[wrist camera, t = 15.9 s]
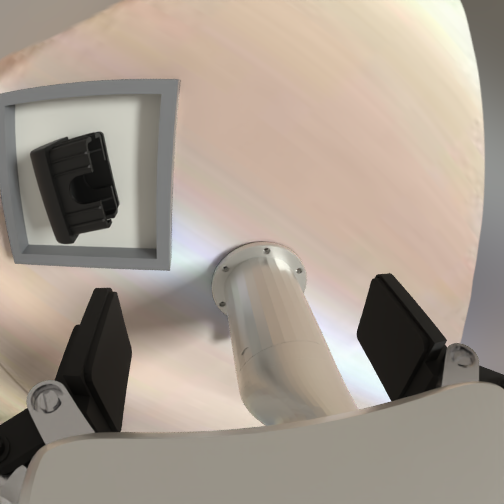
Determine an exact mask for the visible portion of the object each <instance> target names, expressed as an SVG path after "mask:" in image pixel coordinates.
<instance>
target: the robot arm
mask: <svg viewBox="0 0 504 504" xmlns="http://www.w3.org/2000/svg"><path fill="white" fill-rule="evenodd" d="M265 248H267V249H265ZM225 266H226V267H225ZM306 283H307V275H306V270H305V267H304V265H303V263H302V261H301V260H300V258H299V257H298V256H297V254H296V253H294V252H293V251H292V250H291V249H289V248H287V247H285V246H283V245H281V244H277V243H273V242H255V243H251V244H247V245H244V246H242V247H239V248H237V249H235V250H234V251H232V252H231V253H229V254H228V255H227V256H226V257H225V258H224V259H223V260H222V261H221V262H220V263H219V265H218V266H217V268H216V270H215V272H214V274H213V279H212V294H213V299H214V301H215V303H216V305H217V306H218V308H219V309H220V310H221V311H222V312H223V313H224V314H225V315H226V316H228V322H229V329H230V336H231V342H232V349H233V355H234V361H235V368H236V374H237V380H238V386H239V392H240V395H241V399H242V401H243V403H244V405H245V406H246V408H247V409H248V411H249V412H250V413H251V414H252V415H253V416H254V417H255V418H256V419H257V420H259V421H260V422H261V423H263V424H264V425H265V426H261V427H252V428H242V429H231V430H217V431H198V432H120V431H121V428H122V420H123V411H124V404H125V396H126V389H127V382H128V376H129V369H130V363H131V357H132V350H131V345H130V341H129V338H128V334H127V330H126V327H125V323H124V319H123V315H122V311H121V307H120V303H119V299H118V295H117V292H112V289H111V288H95V289H94V291H93V294H92V296H91V299H90V301H89V303H88V306H87V308H86V311H85V313H84V316H83V318H82V321H81V324H80V325H76V326H75V327H74V329H73V331H72V334H71V336H70V339H69V342H68V344H67V347H66V350H65V352H64V355H63V358H62V361H61V364H60V366H59V369H58V372H57V375H56V378H55V381H53V380H47V381H43V382H40V383H38V384H37V385H35V386H34V387H33V388H32V389H31V390H30V392H29V394H28V396H27V407H28V408H27V409H25V410H24V411H22V412H21V413H19V414H17V415H16V416H14V417H12V418H11V419H9V420H8V421H6V422H4V423H3V424H1V425H0V504H504V375H503V374H500V373H497V372H495V371H492V370H490V369H487V368H484V367H482V366H479V359H478V356H477V354H476V353H475V352H474V351H473V349H471V348H470V347H468V346H466V345H464V344H460V343H454V344H451V345H449V346H448V347H446V345H445V343H446V341H447V340H446V338H445V337H444V336H443V334H442V333H441V332H440V331H439V329H438V328H437V327H436V326H435V324H434V323H433V322H432V321H431V319H430V318H429V317H428V316H427V315H426V313H425V312H424V311H423V310H422V309H421V307H420V306H419V305H418V304H417V303H416V301H415V300H414V299H413V298H412V297H411V295H410V294H409V293H408V292H407V291H406V290H405V288H404V287H403V286H402V285H401V284H400V283H399V282H398V280H397V279H396V278H395V277H394V276H393V275H392V274H390V273H389V274H378V275H376V277H375V278H374V279H372V281H371V284H370V288H369V292H368V295H367V299H366V302H365V306H364V309H363V313H362V316H361V319H360V323H359V326H358V329H357V338H358V341H359V342H360V344H361V346H362V348H363V350H364V351H365V353H366V355H367V357H368V359H369V360H370V362H371V364H372V366H373V368H374V370H375V371H376V373H377V375H378V377H379V379H380V381H381V383H382V384H383V386H384V388H385V390H386V392H387V394H388V396H389V398H390V399H391V402H388V403H384V404H380V405H376V406H372V407H368V408H364V409H359V408H358V406H357V404H356V403H355V401H354V399H353V398H352V396H351V394H350V392H349V390H348V388H347V386H346V384H345V382H344V380H343V378H342V376H341V374H340V372H339V370H338V368H337V365H336V363H335V361H334V359H333V357H332V354H331V352H330V350H329V348H328V345H327V343H326V341H325V339H324V337H323V334H322V332H321V330H320V328H319V326H318V323H317V321H316V319H315V317H314V315H313V313H312V311H311V308H310V306H309V304H308V302H307V300H306V298H305V296H304V291H305V289H306Z"/></svg>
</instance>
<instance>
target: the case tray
mask: <svg viewBox="0 0 504 504" xmlns="http://www.w3.org/2000/svg"><path fill="white" fill-rule="evenodd" d="M179 90H180V80H179V79H122V80H101V81H87V82H75V83H66V84H57V85H49V86H42V87H35V88H29V89H23V90H17V91H12V92H7V93H2V94H0V191H1V198H2V204H3V210H4V216H5V222H6V227H7V232H8V237H9V241H10V246H11V250H12V254H13V258H14V262H15V264H31V265H49V266H69V267H90V268H113V269H138V270H166V271H170V266H171V242H172V195H173V171H174V153H175V137H176V123H177V111H178V100H179ZM98 131H101V132H102V133H103V134H104V137H105V142H106V147H107V152H108V156H109V161H110V165H111V170H112V174H113V178H114V182H115V186H116V190H117V194H118V198H119V202H120V205H119V207H118V213H117V215H116V217H115V218H112V219H111V220H112V224H111V226H110V228H106V229H102V230H97V231H92V232H87V233H82V234H79V236H78V237H77V239H76V240H75V242H74V243H73V244H60V243H58V242H57V241H56V238H55V236H54V233H53V230H52V227H51V224H50V222H49V219H48V216H47V213H46V210H45V207H44V203H43V200H42V197H41V194H40V191H39V187H38V184H37V180H36V177H35V173H34V169H33V166H32V162H31V158H30V152H31V151H32V150H34V149H36V148H38V147H40V146H43V145H45V144H47V143H50V142H53V141H55V140H58V139H61V138H64V137H68V139H72V138H75V137H78V136H82V135H85V134H89V133H92V132H98ZM107 220H109V219H107Z"/></svg>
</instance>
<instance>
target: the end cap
mask: <svg viewBox="0 0 504 504" xmlns="http://www.w3.org/2000/svg"><path fill="white" fill-rule="evenodd" d="M30 158H31V162H32V166H33V169H34V173H35V177H36V180H37V184H38V187H39V191H40V194H41V197H42V200H43V203H44V207H45V210H46V213H47V216H48V219H49V222H50V224H51V227H52V230H53V233H54V236H55V238H56V241H57V242H58V243H60V244H73V243H74V242H75V240H76V239H77V237H78V236H79V234H82V233H87V232H92V231H97V230H102V229H106V228H110V226H111V224H112V220H111V219H112V218H115V217H116V215H117V213H118V207H119V205H120V202H119V198H118V194H117V190H116V186H115V182H114V178H113V174H112V170H111V165H110V161H109V156H108V152H107V147H106V142H105V137H104V134H103V133H102V132H101V131H98V132H92V133H89V134H85V135H82V136H78V137H75V138H72V139H68V137H64V138H61V139H58V140H55V141H53V142H50V143H47V144H45V145H43V146H40V147H38V148H36V149H34V150H32V151H31V152H30ZM107 219H109V220H107Z"/></svg>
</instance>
